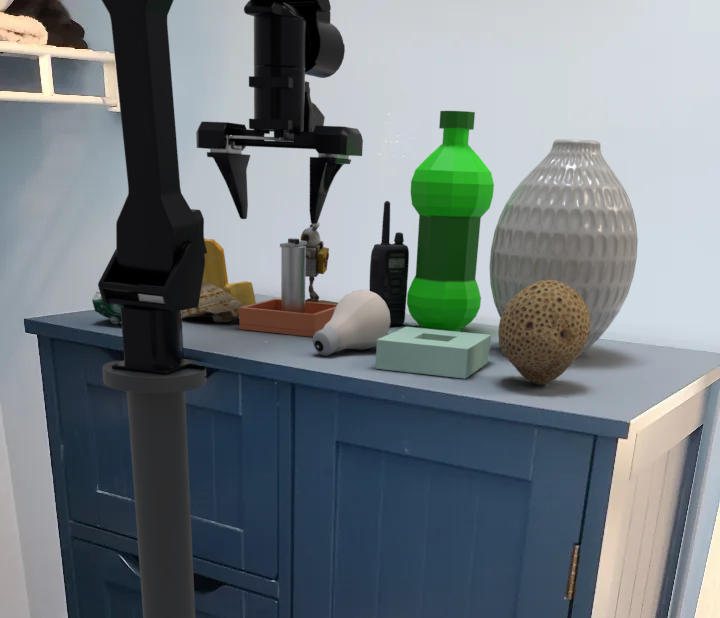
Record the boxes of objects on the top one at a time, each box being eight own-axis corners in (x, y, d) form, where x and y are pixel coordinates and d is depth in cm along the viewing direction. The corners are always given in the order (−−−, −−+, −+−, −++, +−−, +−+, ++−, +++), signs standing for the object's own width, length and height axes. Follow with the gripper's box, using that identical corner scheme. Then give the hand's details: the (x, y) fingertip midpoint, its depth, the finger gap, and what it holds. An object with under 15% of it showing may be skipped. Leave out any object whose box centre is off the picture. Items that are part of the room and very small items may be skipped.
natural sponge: (571, 399, 90) (586, 288, 86) (480, 388, 93) (491, 280, 88) (588, 382, 98) (603, 279, 93) (505, 372, 101) (515, 272, 96)
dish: (314, 337, 115) (314, 314, 114) (239, 329, 118) (238, 307, 117) (344, 325, 124) (345, 304, 123) (274, 318, 127) (274, 298, 126)
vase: (646, 356, 112) (682, 144, 102) (570, 372, 102) (601, 138, 92) (534, 336, 122) (556, 141, 112) (453, 349, 112) (470, 135, 101)
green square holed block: (465, 379, 97) (468, 348, 95) (375, 368, 100) (376, 339, 98) (488, 362, 105) (490, 334, 104) (404, 353, 108) (405, 326, 106)
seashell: (223, 309, 118) (177, 277, 120) (211, 350, 121) (166, 317, 123) (264, 302, 124) (219, 272, 126) (251, 341, 127) (208, 311, 129)
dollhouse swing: (258, 304, 138) (257, 236, 134) (225, 312, 130) (223, 240, 126) (196, 298, 142) (193, 231, 137) (160, 305, 134) (156, 235, 129)
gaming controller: (104, 334, 121) (80, 303, 116) (114, 309, 122) (91, 278, 117) (166, 342, 118) (144, 310, 113) (176, 316, 119) (155, 284, 114)
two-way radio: (378, 328, 123) (384, 201, 117) (357, 323, 126) (361, 199, 120) (410, 325, 127) (417, 201, 120) (389, 320, 130) (395, 199, 123)
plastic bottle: (495, 330, 125) (517, 114, 114) (449, 339, 118) (467, 109, 106) (434, 321, 131) (449, 114, 119) (386, 328, 123) (397, 108, 112)
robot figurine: (292, 304, 139) (293, 215, 134) (354, 309, 138) (357, 219, 132) (271, 315, 130) (271, 219, 124) (337, 319, 128) (340, 223, 123)
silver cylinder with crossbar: (313, 320, 123) (315, 238, 119) (293, 327, 118) (294, 241, 113) (292, 318, 124) (293, 236, 120) (271, 324, 119) (271, 239, 114)
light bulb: (306, 376, 108) (367, 338, 114) (348, 374, 103) (408, 335, 109) (287, 319, 104) (351, 283, 110) (329, 315, 100) (393, 278, 106)
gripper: (382, 77, 110) (375, 224, 117) (237, 75, 115) (239, 215, 122) (347, 67, 100) (342, 227, 107) (191, 64, 106) (196, 217, 113)
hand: (278, 221), depth 113 cm, fingers open, 9 cm apart
